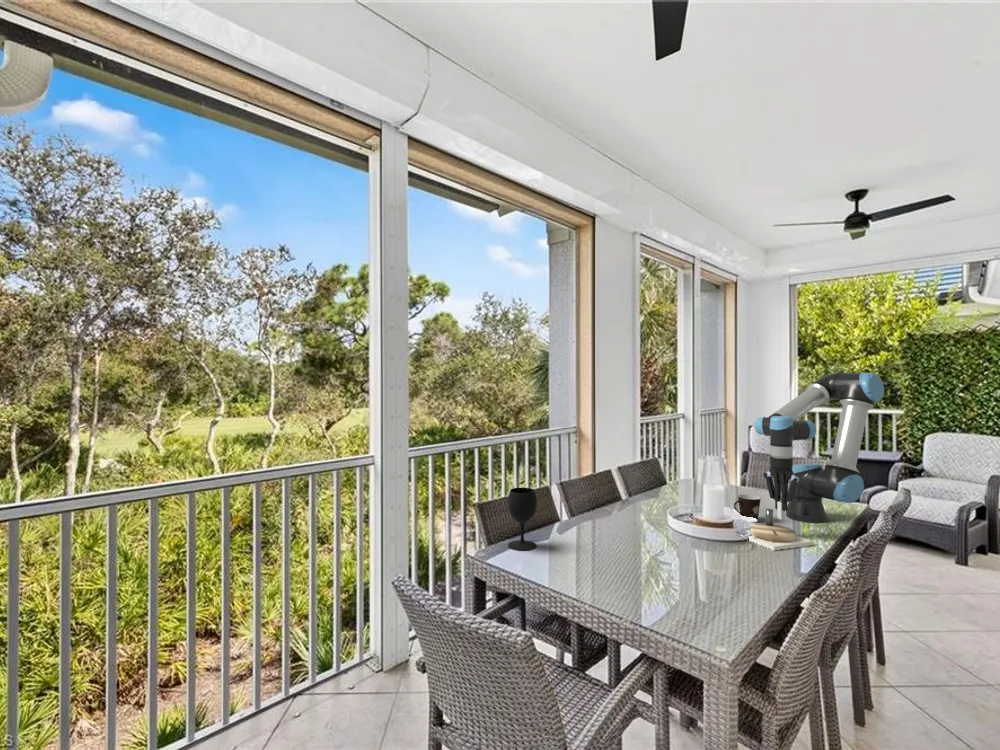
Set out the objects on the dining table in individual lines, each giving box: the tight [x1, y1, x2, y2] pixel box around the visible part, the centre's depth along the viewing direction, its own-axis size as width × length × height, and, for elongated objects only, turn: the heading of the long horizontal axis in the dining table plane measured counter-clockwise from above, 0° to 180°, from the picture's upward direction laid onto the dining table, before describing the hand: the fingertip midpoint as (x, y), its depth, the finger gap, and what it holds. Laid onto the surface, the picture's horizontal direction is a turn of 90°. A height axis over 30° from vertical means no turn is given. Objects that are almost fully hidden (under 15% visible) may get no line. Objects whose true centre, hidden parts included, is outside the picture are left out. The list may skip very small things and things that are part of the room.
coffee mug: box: [733, 494, 762, 520], centre depth 211 cm, size 12×9×10 cm
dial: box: [749, 508, 797, 542], centre depth 186 cm, size 15×15×8 cm
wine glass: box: [507, 487, 538, 552], centre depth 179 cm, size 10×10×20 cm
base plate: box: [748, 535, 814, 551], centre depth 186 cm, size 18×18×2 cm
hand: (781, 518), depth 191 cm, fingers closed
